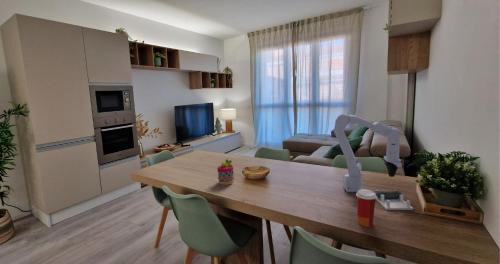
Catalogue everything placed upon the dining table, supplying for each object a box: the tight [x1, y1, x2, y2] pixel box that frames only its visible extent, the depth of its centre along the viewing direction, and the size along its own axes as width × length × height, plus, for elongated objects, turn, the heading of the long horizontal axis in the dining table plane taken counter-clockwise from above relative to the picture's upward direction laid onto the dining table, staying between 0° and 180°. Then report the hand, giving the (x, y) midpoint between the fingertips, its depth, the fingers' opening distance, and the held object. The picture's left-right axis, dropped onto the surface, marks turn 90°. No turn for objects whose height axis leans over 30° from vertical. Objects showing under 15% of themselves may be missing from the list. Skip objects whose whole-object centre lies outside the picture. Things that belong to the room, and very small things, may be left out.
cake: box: [217, 158, 235, 186], centre depth 155 cm, size 10×11×15 cm
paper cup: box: [355, 188, 377, 228], centre depth 101 cm, size 8×8×14 cm
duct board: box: [374, 189, 414, 211], centre depth 118 cm, size 12×15×4 cm
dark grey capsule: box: [376, 190, 402, 198], centre depth 121 cm, size 12×4×4 cm, turn 86°
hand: (391, 176), depth 126 cm, fingers closed
